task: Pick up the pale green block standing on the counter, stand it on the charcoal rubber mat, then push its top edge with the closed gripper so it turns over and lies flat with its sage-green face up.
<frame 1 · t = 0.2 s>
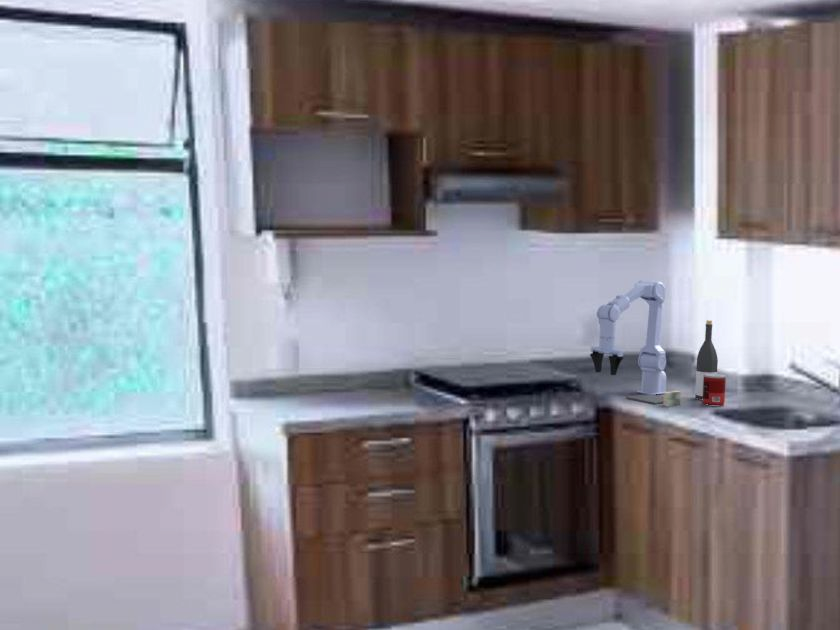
hand: (605, 373, 379), 10 cm above the countertop, tool pointing down, fingers open, 7 cm apart
pale green block: (671, 405, 372), on the countertop
rubber mat: (651, 399, 382), on the countertop
canned food: (713, 404, 376), on the countertop
wine bottle: (705, 399, 387), on the countertop
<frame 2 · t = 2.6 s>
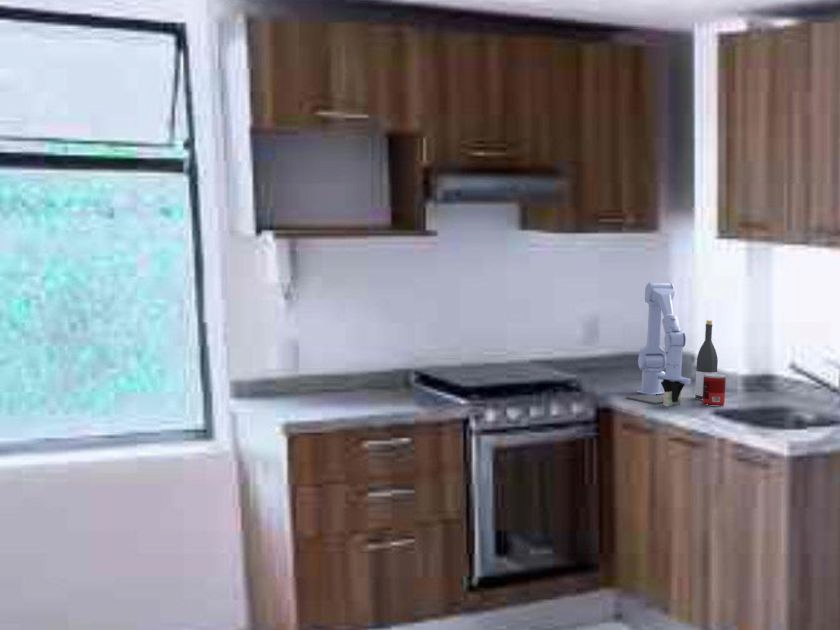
hand: (671, 401, 372), 1 cm above the countertop, tool pointing down, fingers closed on pale green block, 2 cm apart
pale green block: (671, 405, 372), on the countertop, touching gripper
everything else where it was.
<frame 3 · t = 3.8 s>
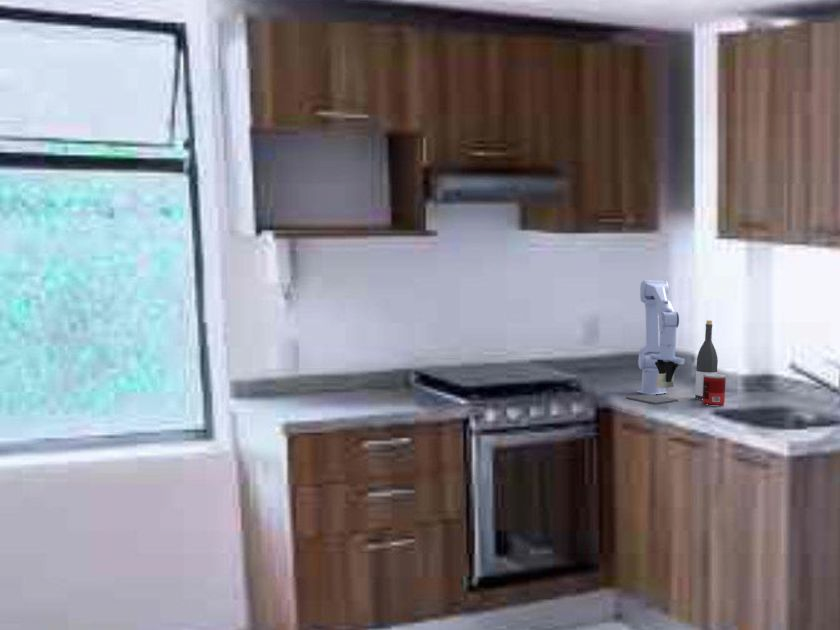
hand: (665, 381, 375), 8 cm above the countertop, tool pointing down, fingers closed on pale green block
pale green block: (665, 387, 375), point 6 cm above the countertop, touching gripper
everything else where it was.
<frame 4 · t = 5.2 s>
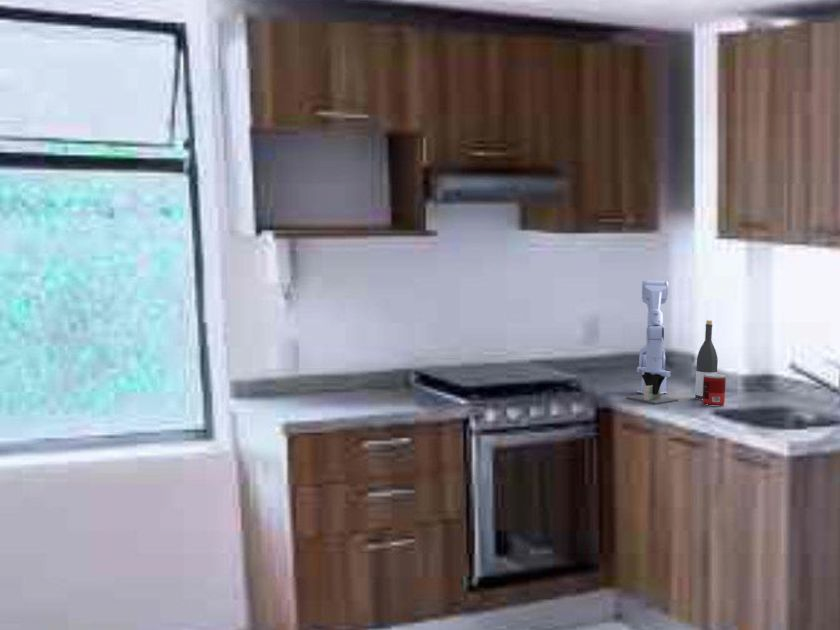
hand: (652, 393, 381), 3 cm above the countertop, tool pointing down, fingers closed on pale green block, 2 cm apart
pale green block: (651, 398, 381), point 1 cm above the countertop, touching gripper, rubber mat
everything else where it was.
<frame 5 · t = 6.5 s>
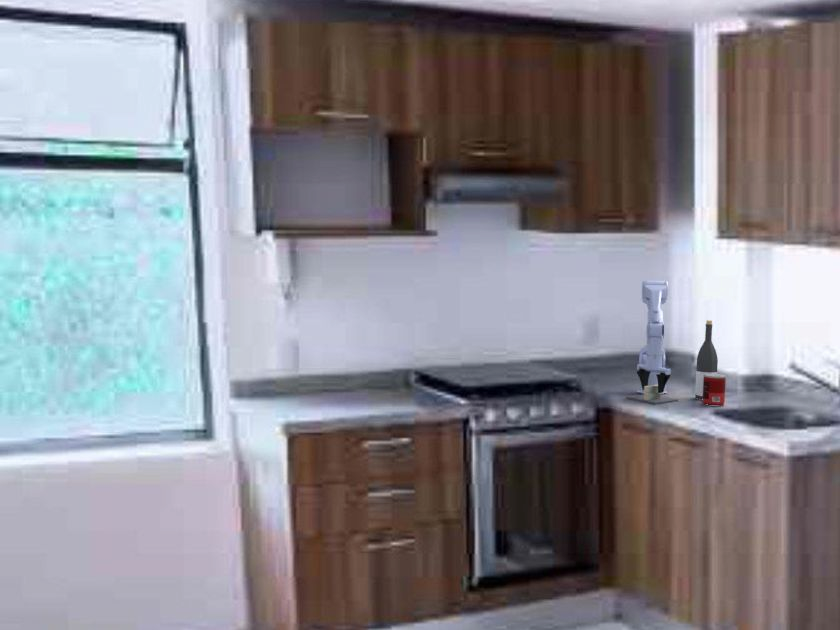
hand: (652, 391, 381), 4 cm above the countertop, tool pointing down, fingers open, 7 cm apart
pale green block: (651, 398, 381), point 1 cm above the countertop, touching rubber mat
everything else where it was.
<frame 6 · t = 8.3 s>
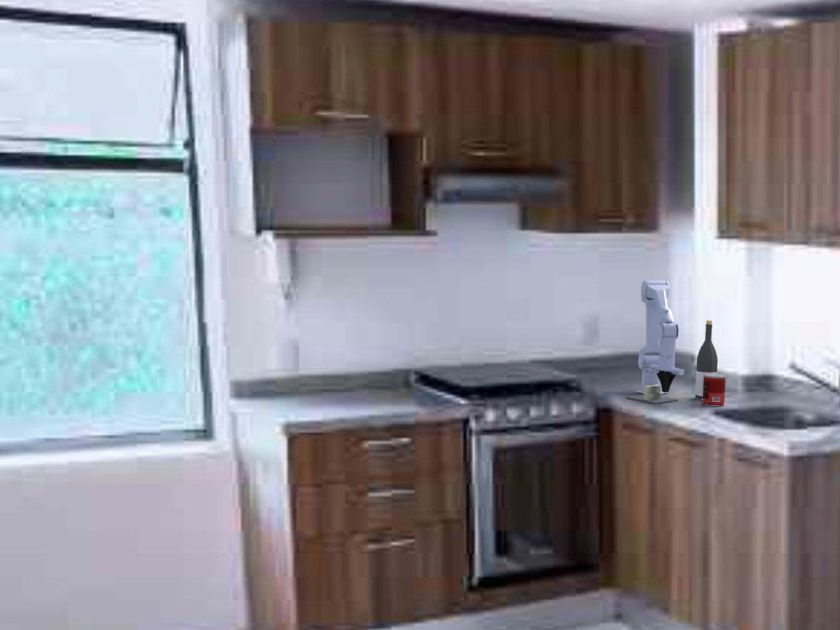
hand: (665, 392, 376), 4 cm above the countertop, tool pointing down, fingers closed
nothing on the countertop moved.
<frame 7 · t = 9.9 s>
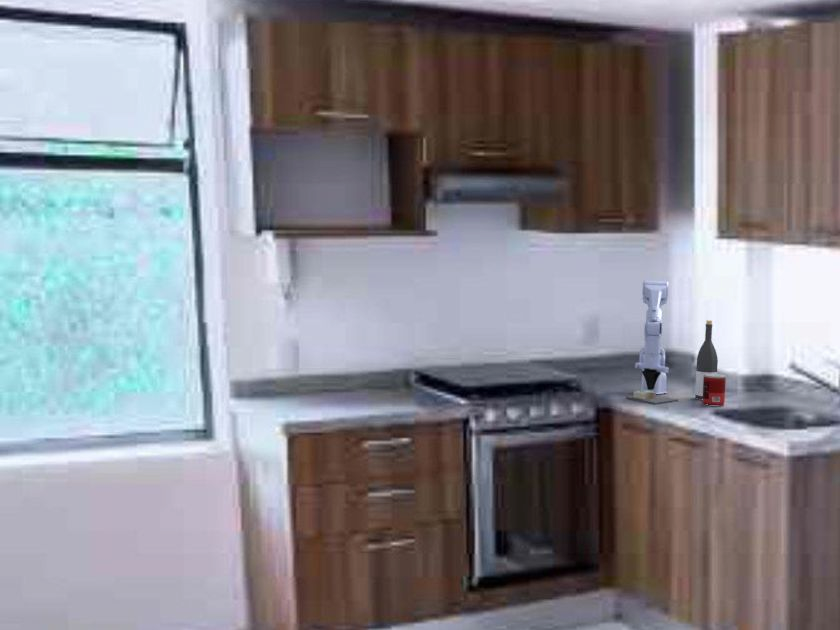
hand: (650, 389, 381), 4 cm above the countertop, tool pointing down, fingers closed
pale green block: (649, 395, 381), point 2 cm above the countertop, tilted 90°, touching rubber mat
everything else where it was.
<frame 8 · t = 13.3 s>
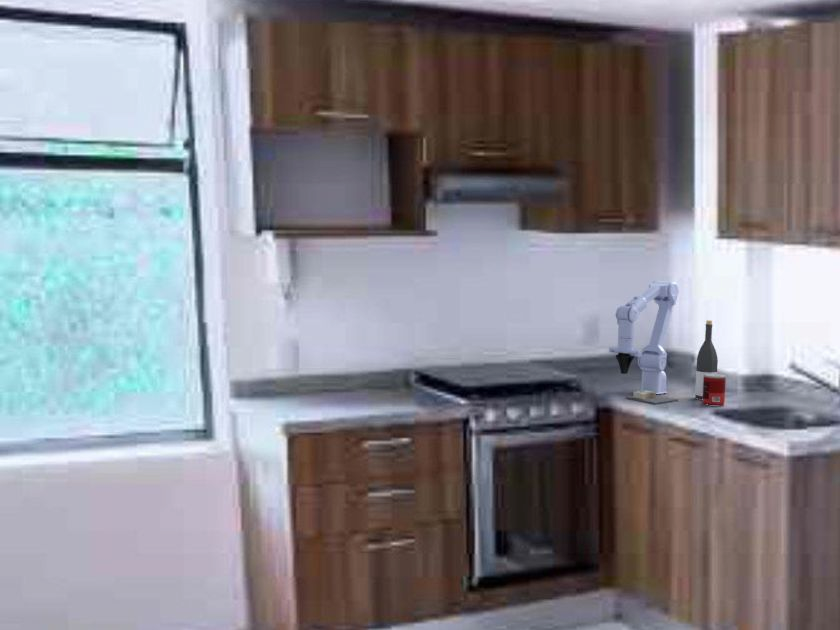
hand: (624, 373, 384), 9 cm above the countertop, tool pointing down, fingers closed
nothing on the countertop moved.
at the end: pale green block tilted 90°; pale green block inside the target area on the rubber mat (1.3 cm from its centre), point 1.6 cm above the rubber mat's base; the gripper is holding nothing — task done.
